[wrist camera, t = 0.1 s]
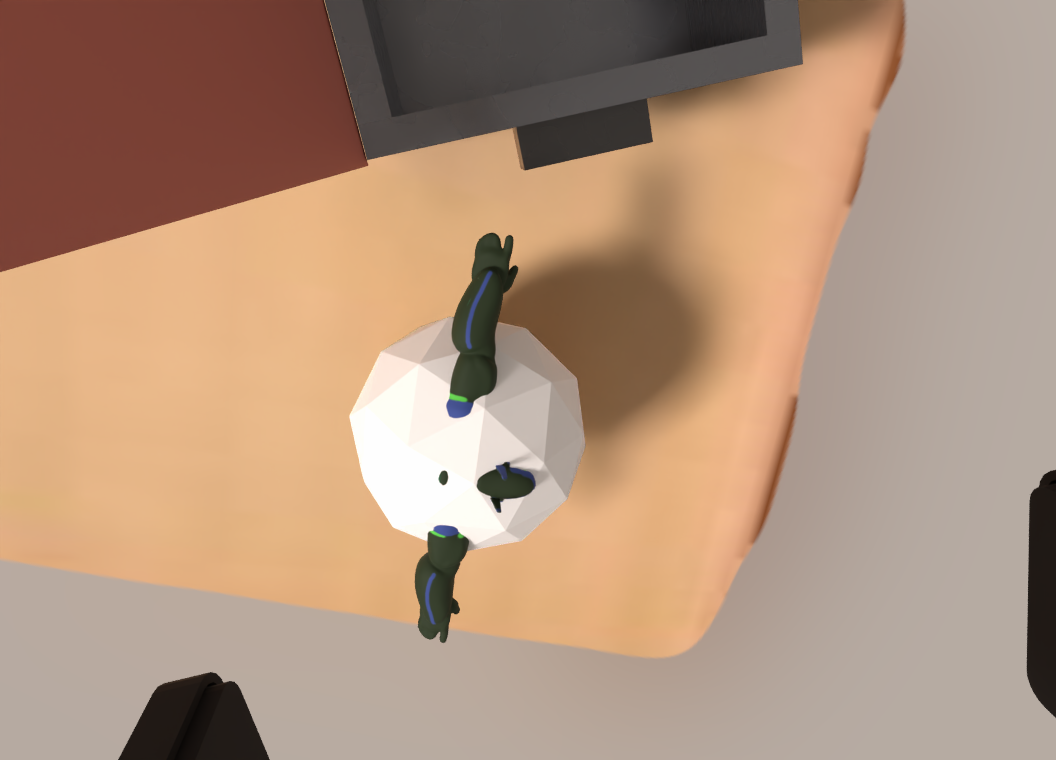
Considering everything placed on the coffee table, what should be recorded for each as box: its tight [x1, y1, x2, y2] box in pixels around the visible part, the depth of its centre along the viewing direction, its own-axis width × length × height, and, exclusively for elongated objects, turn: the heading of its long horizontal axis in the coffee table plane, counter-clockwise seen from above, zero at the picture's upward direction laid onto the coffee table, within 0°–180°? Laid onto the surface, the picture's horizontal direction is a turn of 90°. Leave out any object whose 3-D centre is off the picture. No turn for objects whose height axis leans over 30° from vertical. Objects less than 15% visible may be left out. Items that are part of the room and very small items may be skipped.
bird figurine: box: [349, 233, 586, 643], centre depth 34 cm, size 18×10×13 cm, turn 170°
